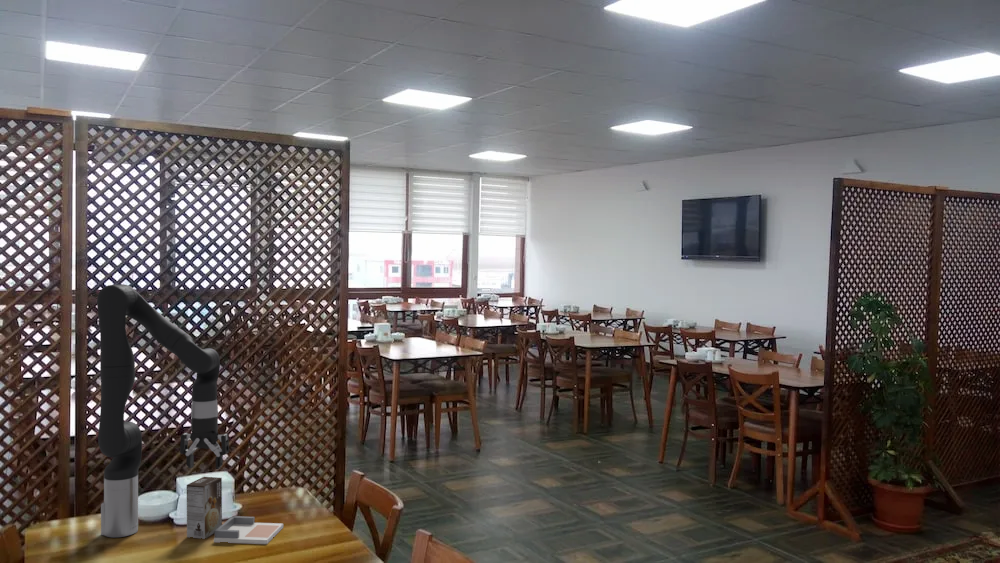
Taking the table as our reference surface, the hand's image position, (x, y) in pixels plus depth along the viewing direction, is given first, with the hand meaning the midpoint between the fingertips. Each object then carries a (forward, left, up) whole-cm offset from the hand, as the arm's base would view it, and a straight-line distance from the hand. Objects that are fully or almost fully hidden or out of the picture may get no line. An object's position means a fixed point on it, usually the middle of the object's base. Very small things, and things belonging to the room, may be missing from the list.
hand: (204, 468), depth 229 cm
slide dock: (+14, 0, -20) cm, 24 cm away
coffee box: (0, 0, -20) cm, 20 cm away
